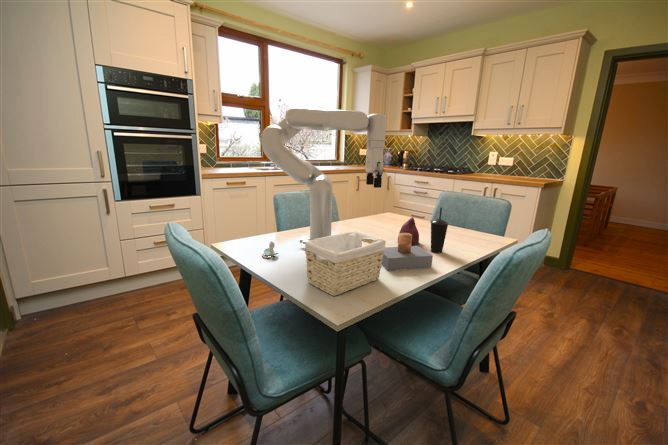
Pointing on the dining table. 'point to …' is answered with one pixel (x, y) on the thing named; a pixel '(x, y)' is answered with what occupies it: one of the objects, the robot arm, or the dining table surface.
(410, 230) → the vegetable
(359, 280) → the storage basket
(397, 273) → the dining table surface
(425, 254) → the stand
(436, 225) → the drinking cup
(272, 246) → the pacifier
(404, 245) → the cylinder
